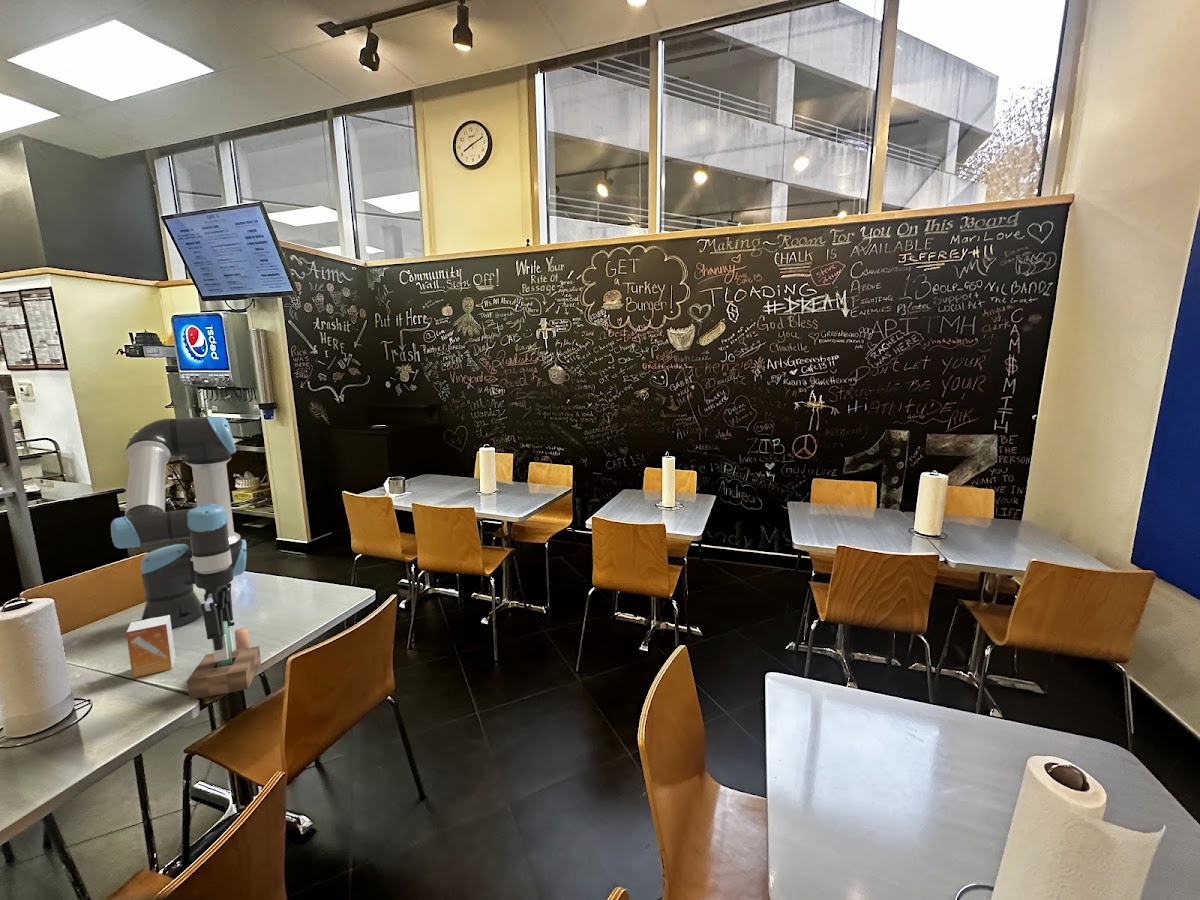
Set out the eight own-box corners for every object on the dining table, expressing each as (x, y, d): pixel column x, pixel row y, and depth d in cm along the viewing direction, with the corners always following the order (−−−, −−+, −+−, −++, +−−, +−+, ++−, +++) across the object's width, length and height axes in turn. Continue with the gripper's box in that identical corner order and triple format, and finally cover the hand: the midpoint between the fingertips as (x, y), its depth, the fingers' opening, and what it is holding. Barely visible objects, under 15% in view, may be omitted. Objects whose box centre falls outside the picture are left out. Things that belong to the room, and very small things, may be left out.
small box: (132, 679, 131) (125, 632, 129) (137, 667, 136) (130, 621, 134) (172, 669, 135) (166, 623, 133) (176, 658, 140) (170, 613, 138)
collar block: (208, 672, 134) (205, 654, 133) (260, 663, 138) (259, 646, 137) (189, 699, 123) (186, 680, 122) (247, 689, 127) (245, 670, 126)
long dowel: (221, 672, 131) (215, 622, 129) (235, 670, 132) (229, 620, 130) (217, 679, 128) (210, 627, 126) (231, 676, 129) (224, 625, 127)
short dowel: (237, 652, 143) (236, 628, 142) (250, 650, 144) (248, 627, 143) (235, 657, 140) (233, 634, 139) (248, 655, 142) (246, 632, 141)
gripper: (207, 559, 132) (217, 643, 135) (181, 583, 117) (193, 676, 120) (241, 555, 134) (250, 638, 138) (220, 578, 119) (231, 670, 123)
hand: (224, 655), depth 129 cm, fingers closed on long dowel, 3 cm apart
